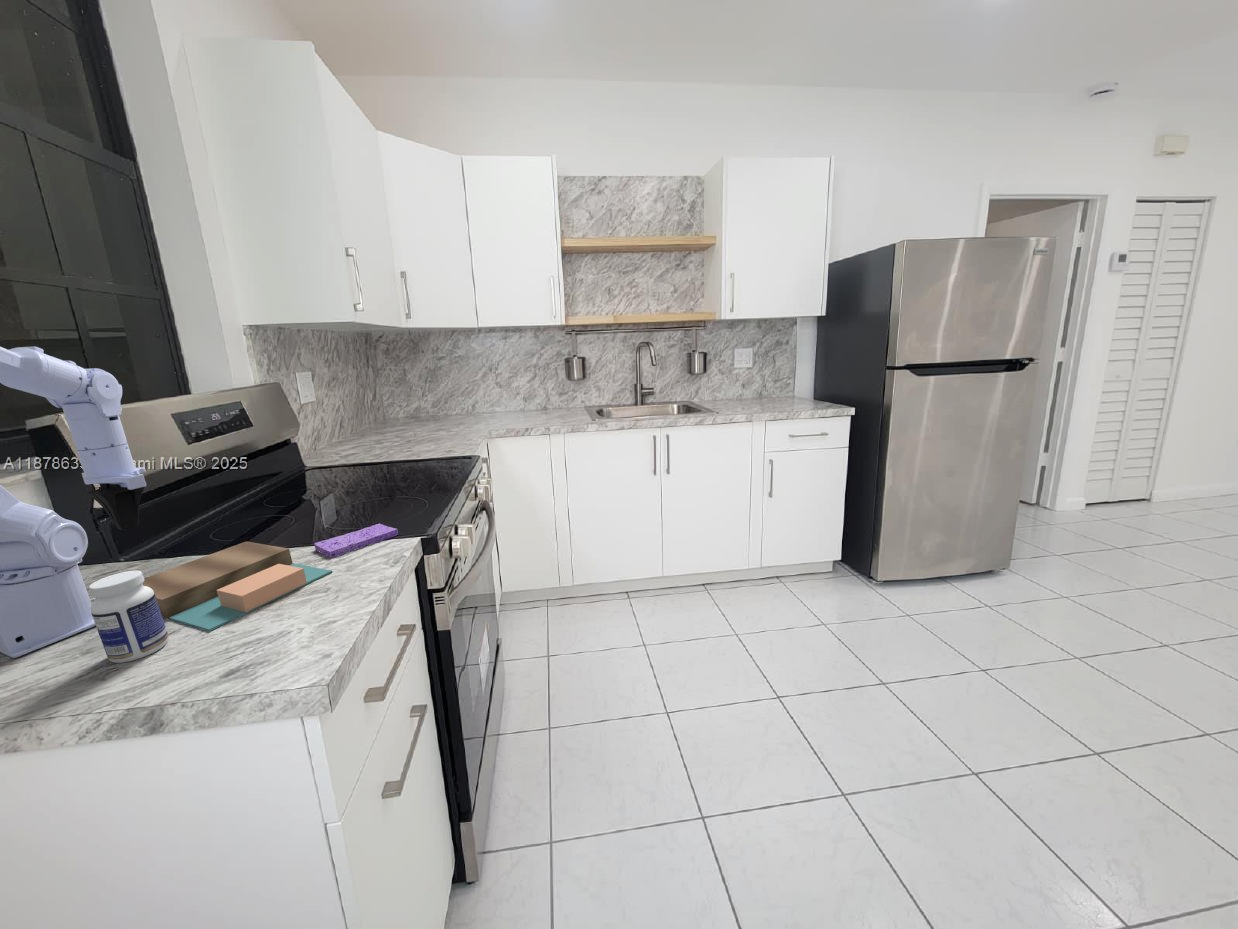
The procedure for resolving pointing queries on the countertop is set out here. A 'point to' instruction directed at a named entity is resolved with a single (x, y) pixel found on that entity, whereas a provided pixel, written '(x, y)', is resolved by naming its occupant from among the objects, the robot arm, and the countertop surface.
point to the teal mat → (216, 615)
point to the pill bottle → (127, 617)
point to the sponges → (355, 540)
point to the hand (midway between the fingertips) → (128, 528)
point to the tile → (261, 587)
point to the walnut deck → (211, 575)
